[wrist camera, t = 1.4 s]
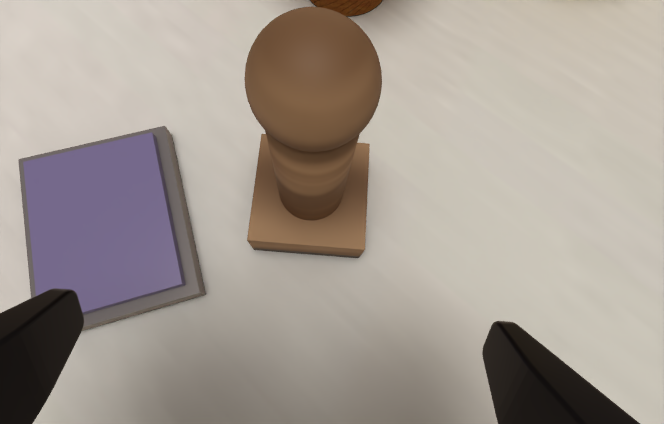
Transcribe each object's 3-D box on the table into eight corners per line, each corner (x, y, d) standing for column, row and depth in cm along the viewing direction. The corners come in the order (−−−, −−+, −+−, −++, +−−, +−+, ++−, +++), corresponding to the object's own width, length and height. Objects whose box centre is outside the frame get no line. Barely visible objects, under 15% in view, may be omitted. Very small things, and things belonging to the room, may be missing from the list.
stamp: (358, 258, 22) (436, 156, 9) (254, 249, 22) (168, 132, 8) (362, 162, 24) (434, -46, 10) (266, 154, 23) (211, -70, 10)
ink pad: (205, 294, 21) (196, 291, 19) (51, 340, 20) (26, 341, 18) (171, 135, 23) (161, 120, 22) (33, 167, 22) (10, 154, 20)
